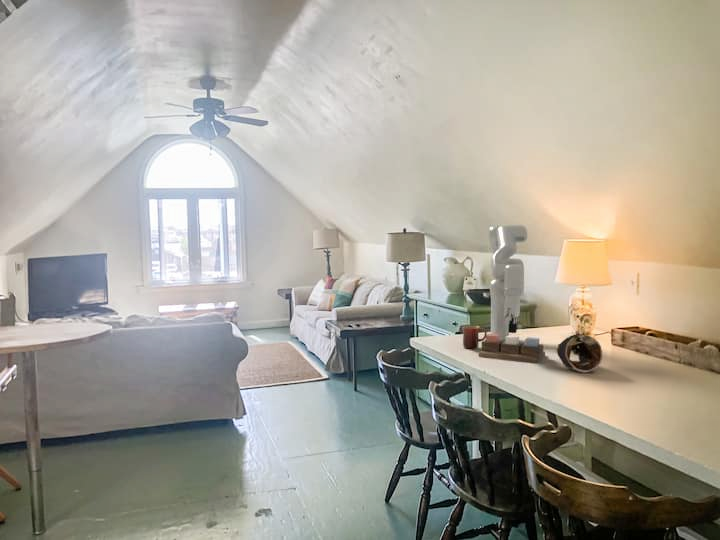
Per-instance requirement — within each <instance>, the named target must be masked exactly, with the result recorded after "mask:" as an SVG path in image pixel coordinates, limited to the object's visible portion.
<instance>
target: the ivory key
mask: <svg viewBox="0 0 720 540" xmlns="http://www.w3.org/2000/svg"><path fill="white" fill-rule="evenodd" d="M504 342H505V344H512V345H518V344H519V342H520V336H519V335H510V334H509V335H508V336H506V337H505V340H504Z"/></svg>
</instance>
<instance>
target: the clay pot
mask: <svg viewBox="0 0 720 540" xmlns="http://www.w3.org/2000/svg"><path fill="white" fill-rule="evenodd" d="M557 346H558V347H557V349H556V351H557V355H558V356H557V357H558V358H559V360H560V361H561V362H562V364H563V366H565V367H566V368H567V369H568V370H574V371H577V372H579V373H589V372H592V371H594V370H596V369H598V368H599V366H600V365H601V363H602V360H603V349H602V346H601V344H600V343H599V341H598V340H597V339H596V338H594V337H593V336H590V335H587V334H581V333H575V334H572V335H570V336H568V337H566V338H564V339H563V340H562V341H561V342H560V343H558V344H557ZM572 352H573V354H574V355H577V357H578V359H579V360H578V361H576V362H575V361H574V362H573V361H572V360H571V359H570V358H571V353H572ZM583 364H584V365H583ZM579 365H581V366H579Z"/></svg>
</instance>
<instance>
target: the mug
mask: <svg viewBox="0 0 720 540" xmlns="http://www.w3.org/2000/svg"><path fill="white" fill-rule="evenodd" d="M461 330H462V335H463V336H462V345H463V346H462V347H463V348H465V349H469V350H475V349H477V348H479V342H482V341H484V340H486V335H487V329H486V328H481V327H480V326H478V325H463V326H461ZM481 331H484V335H483V337H482V338H479V333H480V332H481Z"/></svg>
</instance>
